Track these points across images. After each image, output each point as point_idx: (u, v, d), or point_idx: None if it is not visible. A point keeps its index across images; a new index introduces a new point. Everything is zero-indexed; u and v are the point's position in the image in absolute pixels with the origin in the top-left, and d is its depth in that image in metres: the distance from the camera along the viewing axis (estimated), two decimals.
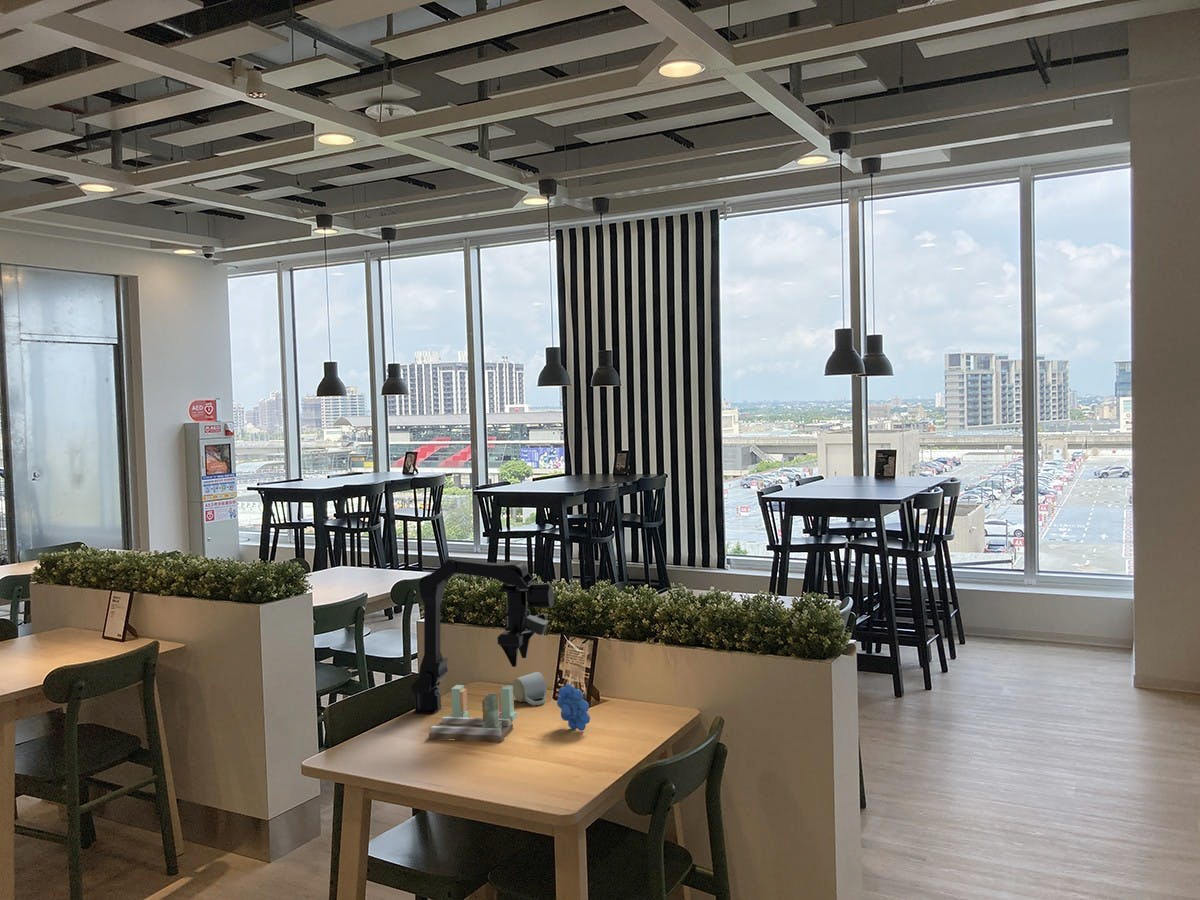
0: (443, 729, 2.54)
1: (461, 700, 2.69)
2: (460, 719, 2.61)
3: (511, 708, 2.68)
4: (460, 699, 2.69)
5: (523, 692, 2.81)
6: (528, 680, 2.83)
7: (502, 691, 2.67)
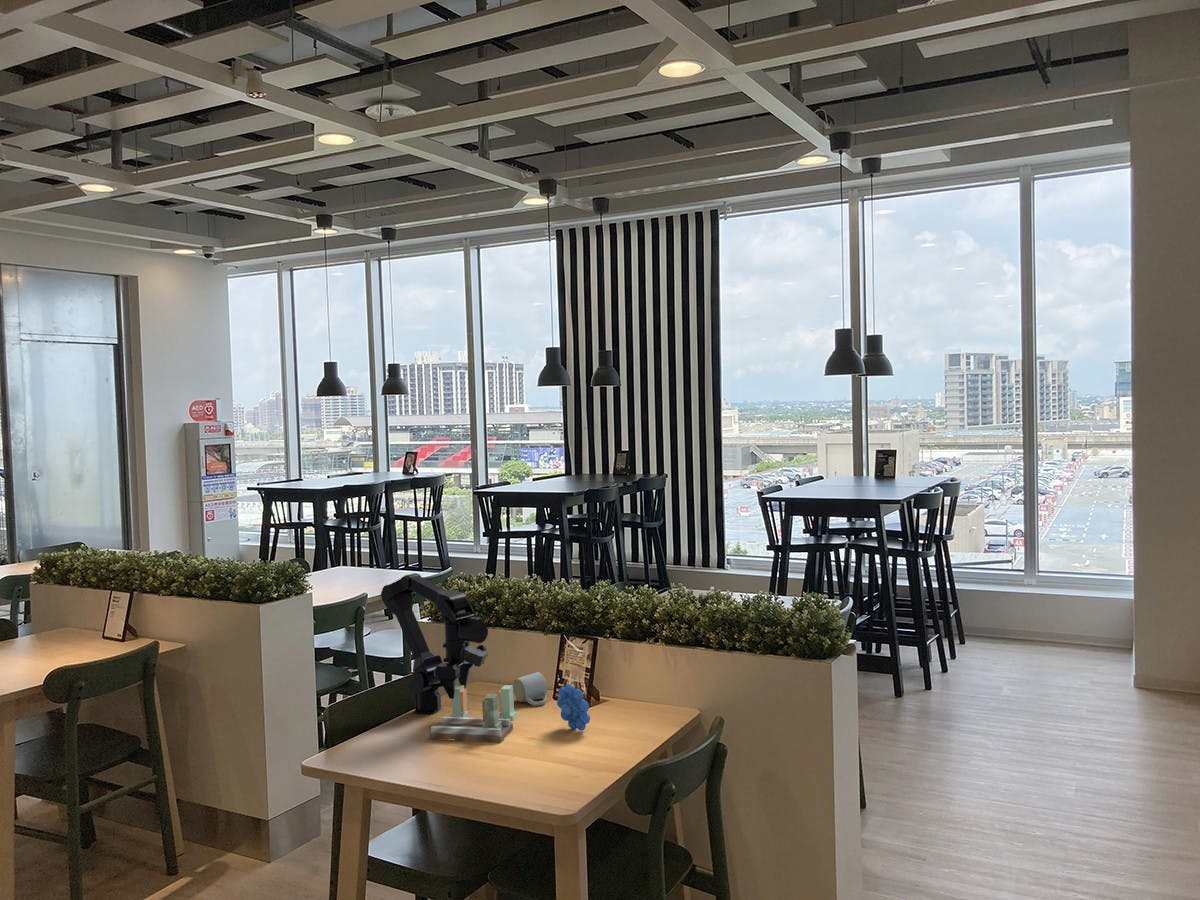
0: (443, 729, 2.54)
1: (461, 700, 2.69)
2: (460, 719, 2.61)
3: (511, 708, 2.68)
4: (460, 699, 2.69)
5: (524, 693, 2.80)
6: (529, 680, 2.83)
7: (502, 691, 2.67)
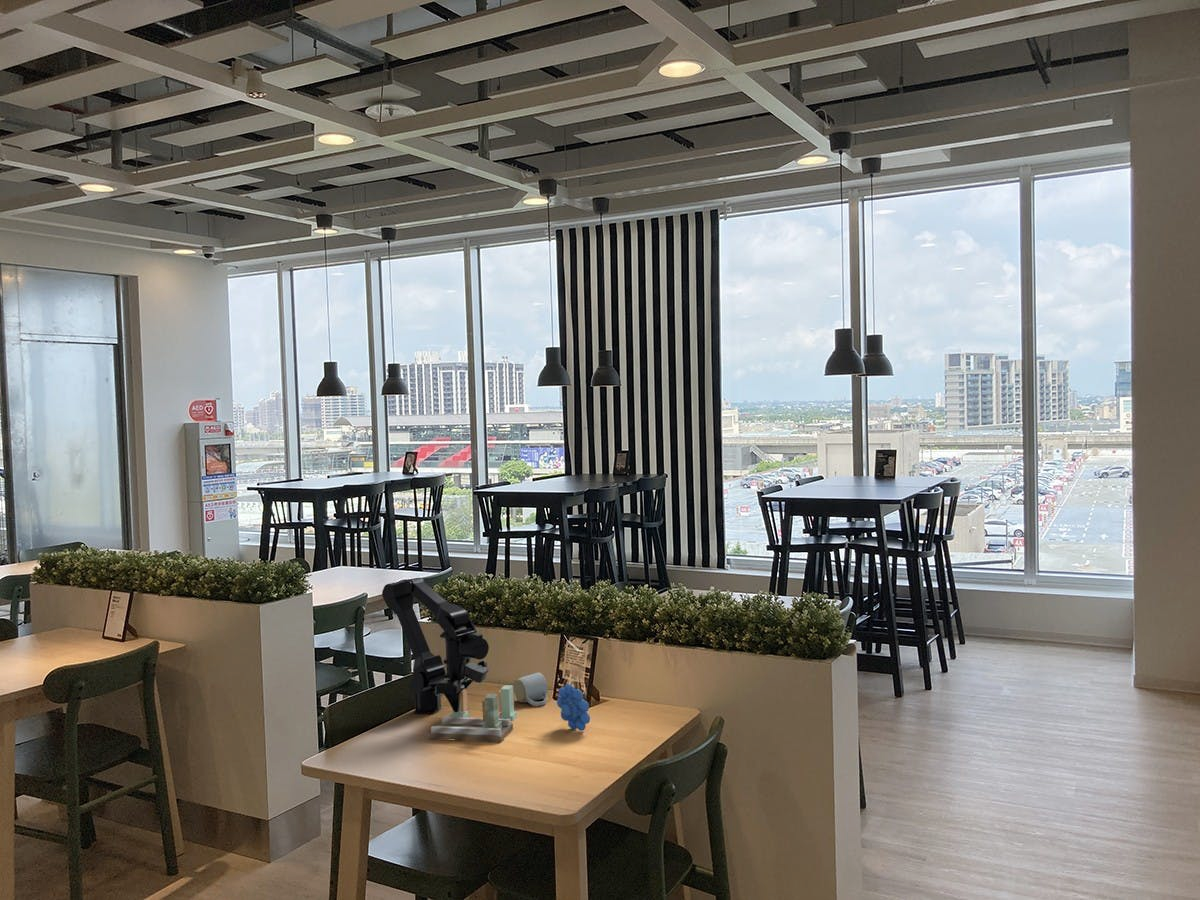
0: (443, 729, 2.54)
1: (461, 700, 2.69)
2: (460, 719, 2.61)
3: (511, 708, 2.68)
4: (460, 699, 2.69)
5: (525, 693, 2.80)
6: (529, 681, 2.82)
7: (502, 691, 2.67)
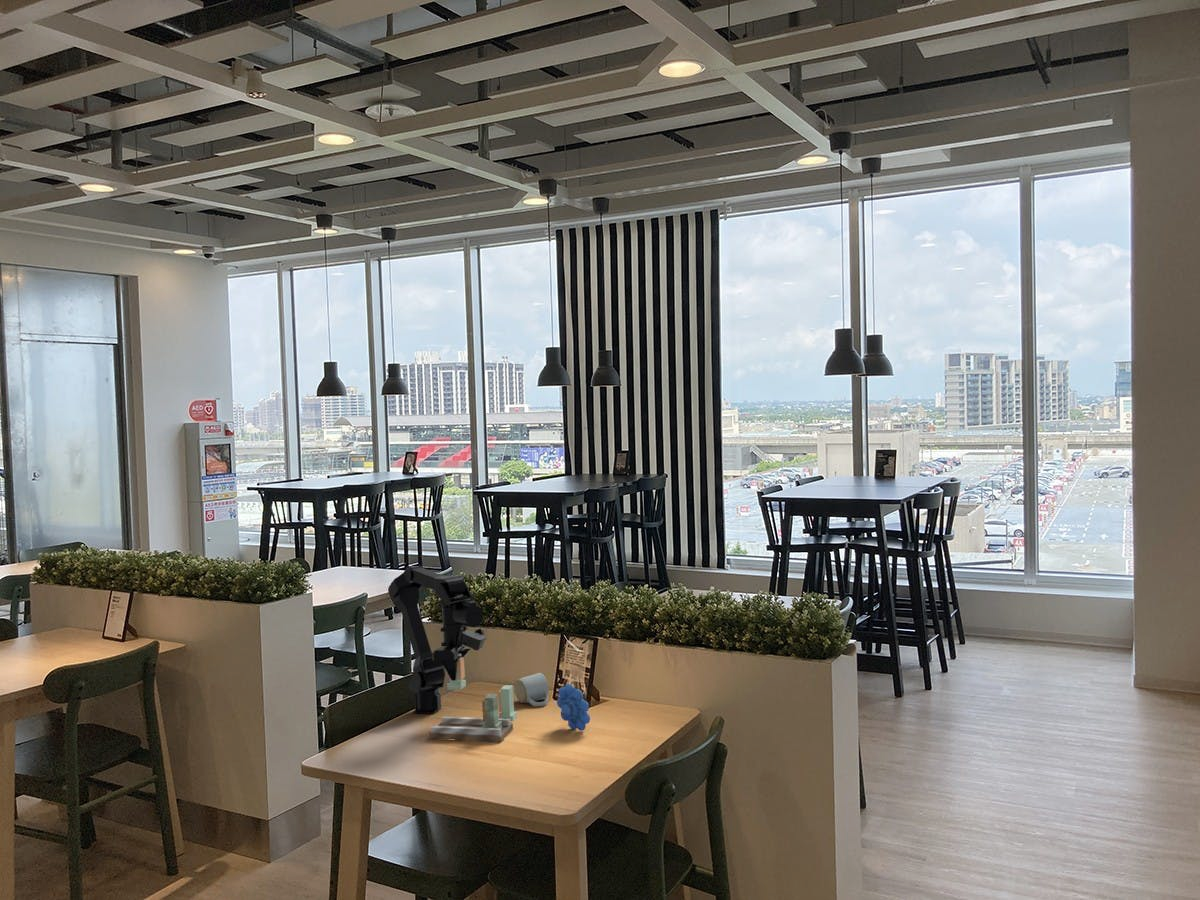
0: (443, 729, 2.54)
1: (458, 668, 2.66)
2: (460, 719, 2.61)
3: (511, 708, 2.68)
4: (457, 667, 2.66)
5: (526, 694, 2.80)
6: (530, 681, 2.82)
7: (502, 691, 2.67)
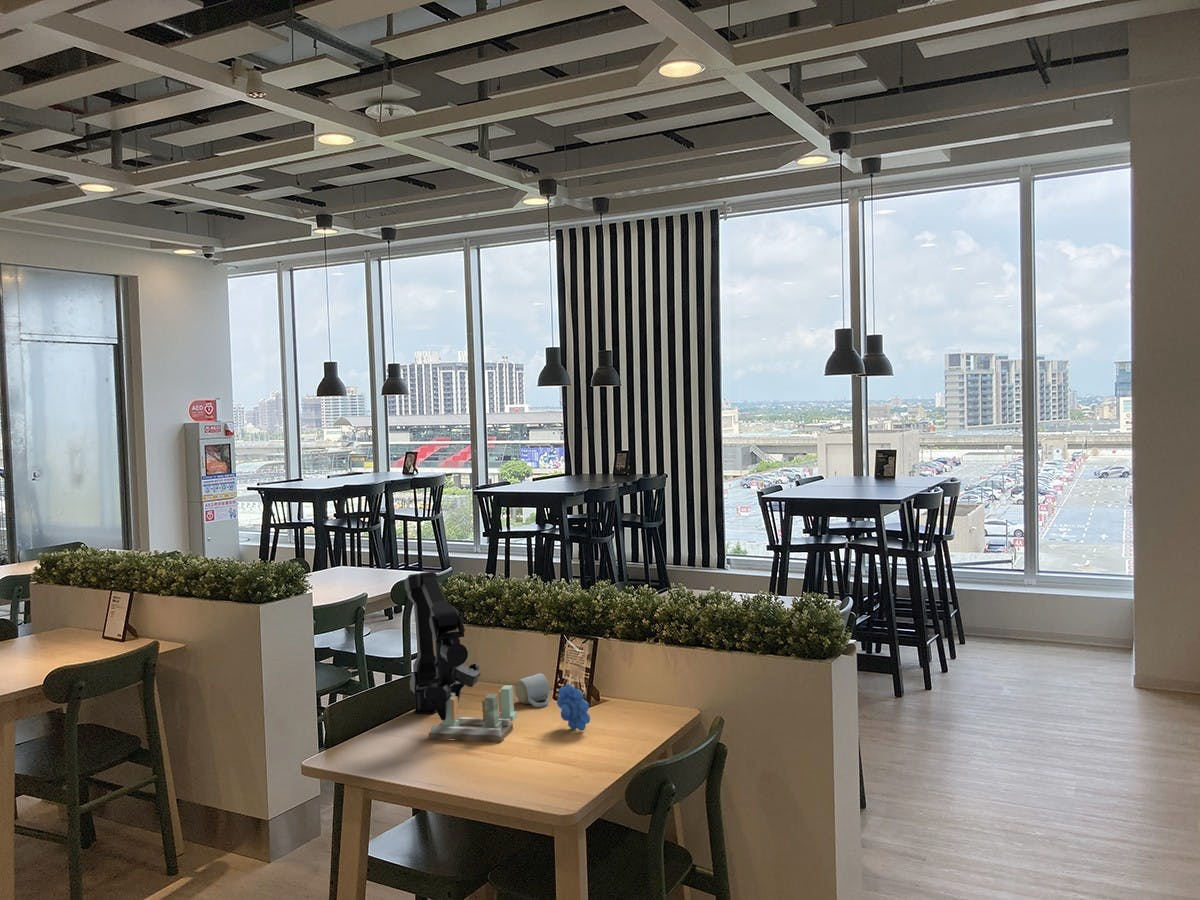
0: (443, 729, 2.54)
1: (452, 708, 2.56)
2: (460, 719, 2.61)
3: (511, 708, 2.68)
4: (451, 707, 2.56)
5: (526, 694, 2.79)
6: (531, 681, 2.81)
7: (502, 691, 2.67)
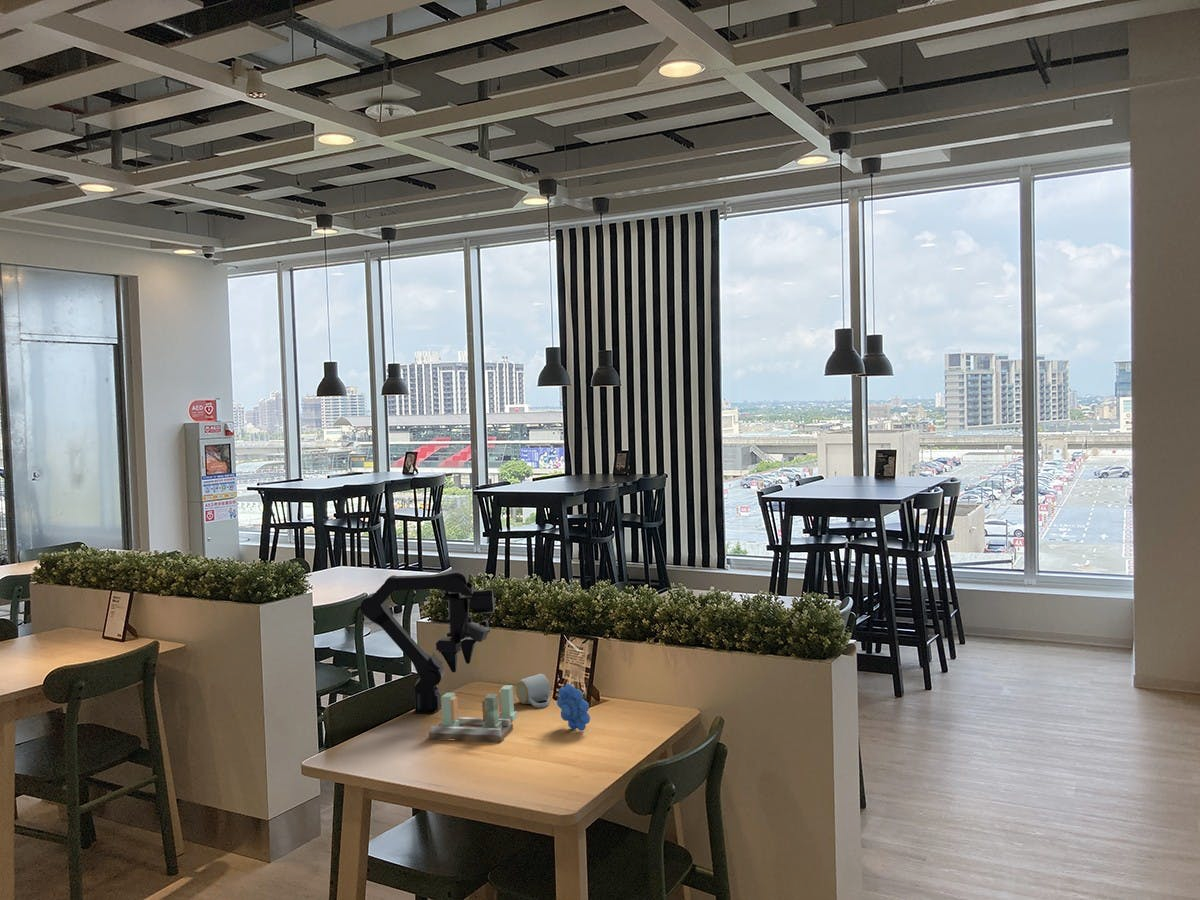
0: (443, 729, 2.54)
1: (452, 708, 2.56)
2: (460, 719, 2.61)
3: (511, 708, 2.68)
4: (451, 707, 2.56)
5: (527, 694, 2.79)
6: (532, 682, 2.81)
7: (502, 691, 2.67)
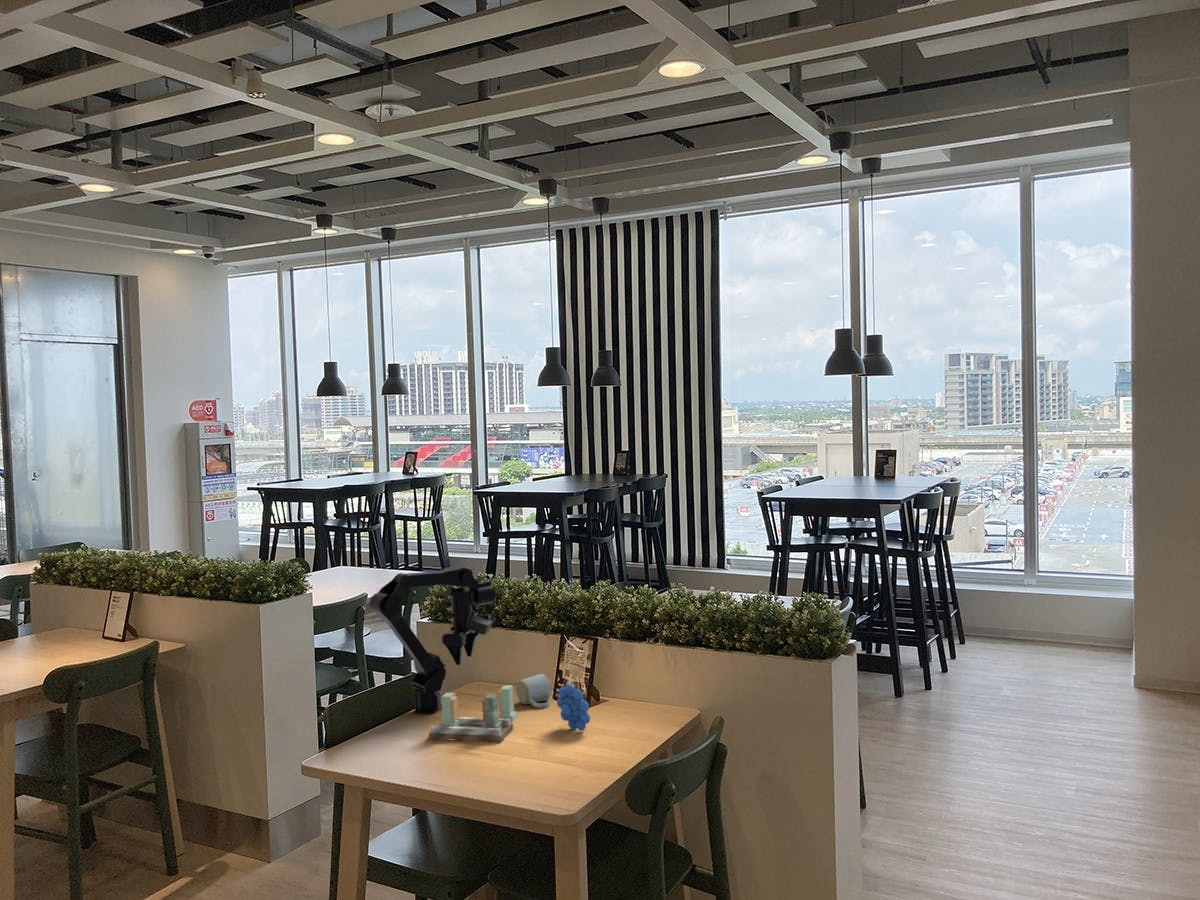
0: (443, 729, 2.54)
1: (452, 708, 2.56)
2: (460, 719, 2.61)
3: (511, 708, 2.68)
4: (451, 707, 2.56)
5: (528, 695, 2.78)
6: (532, 682, 2.80)
7: (502, 691, 2.67)
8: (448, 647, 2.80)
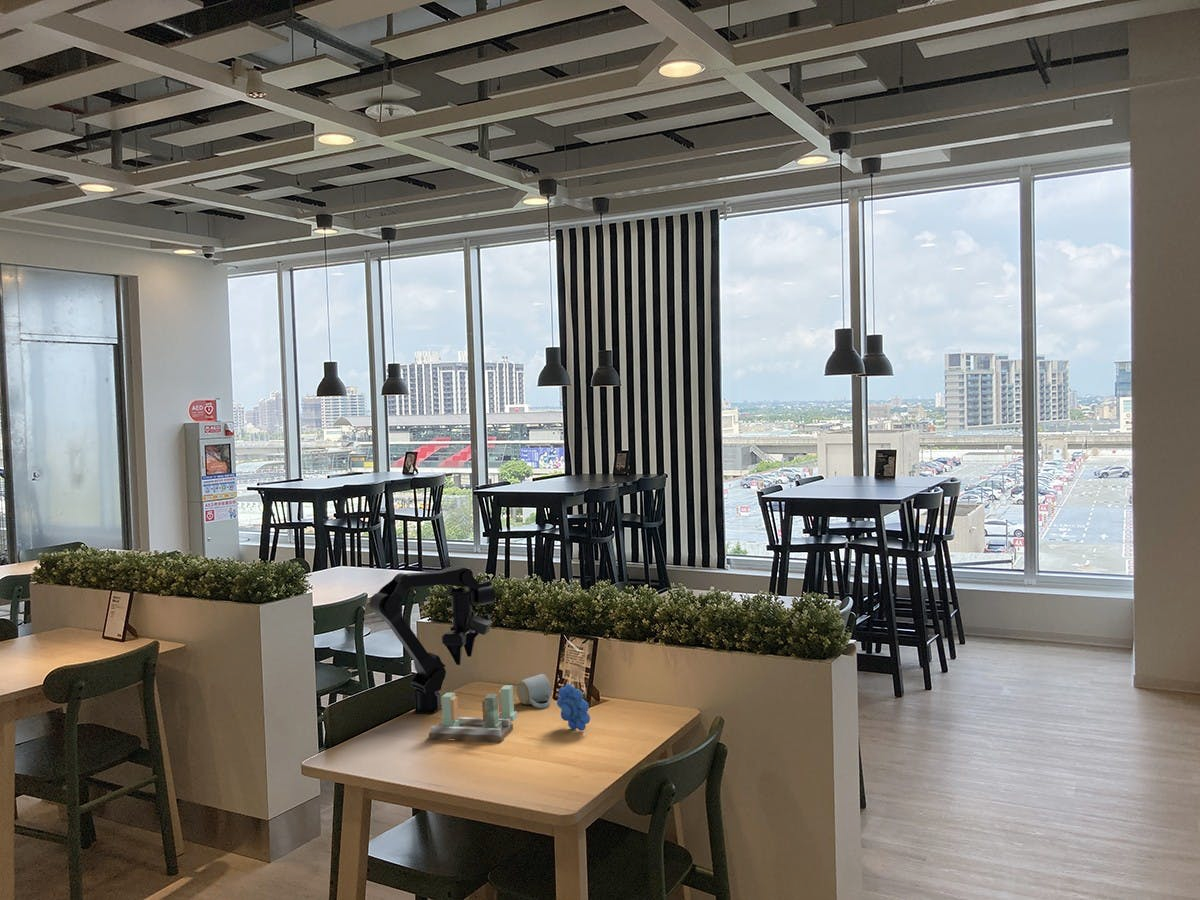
0: (443, 729, 2.54)
1: (452, 708, 2.56)
2: (460, 719, 2.61)
3: (511, 708, 2.68)
4: (451, 707, 2.56)
5: (528, 695, 2.78)
6: (533, 682, 2.80)
7: (502, 691, 2.67)
8: (448, 647, 2.80)
